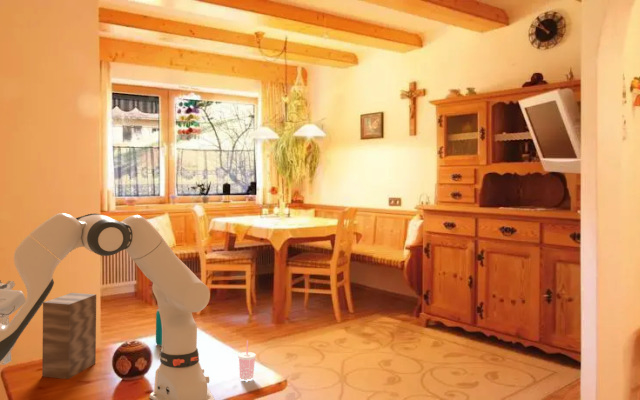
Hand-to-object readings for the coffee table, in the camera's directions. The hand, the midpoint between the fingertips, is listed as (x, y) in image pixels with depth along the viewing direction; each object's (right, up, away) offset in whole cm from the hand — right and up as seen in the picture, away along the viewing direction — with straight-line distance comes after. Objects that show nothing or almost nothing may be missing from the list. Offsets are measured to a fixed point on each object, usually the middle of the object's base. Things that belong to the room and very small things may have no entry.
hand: (5, 282), depth 159 cm
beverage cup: (+68, -39, +28) cm, 84 cm away
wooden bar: (-1, -12, -3) cm, 13 cm away
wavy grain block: (+4, -37, +32) cm, 49 cm away
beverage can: (+28, -36, +63) cm, 78 cm away
